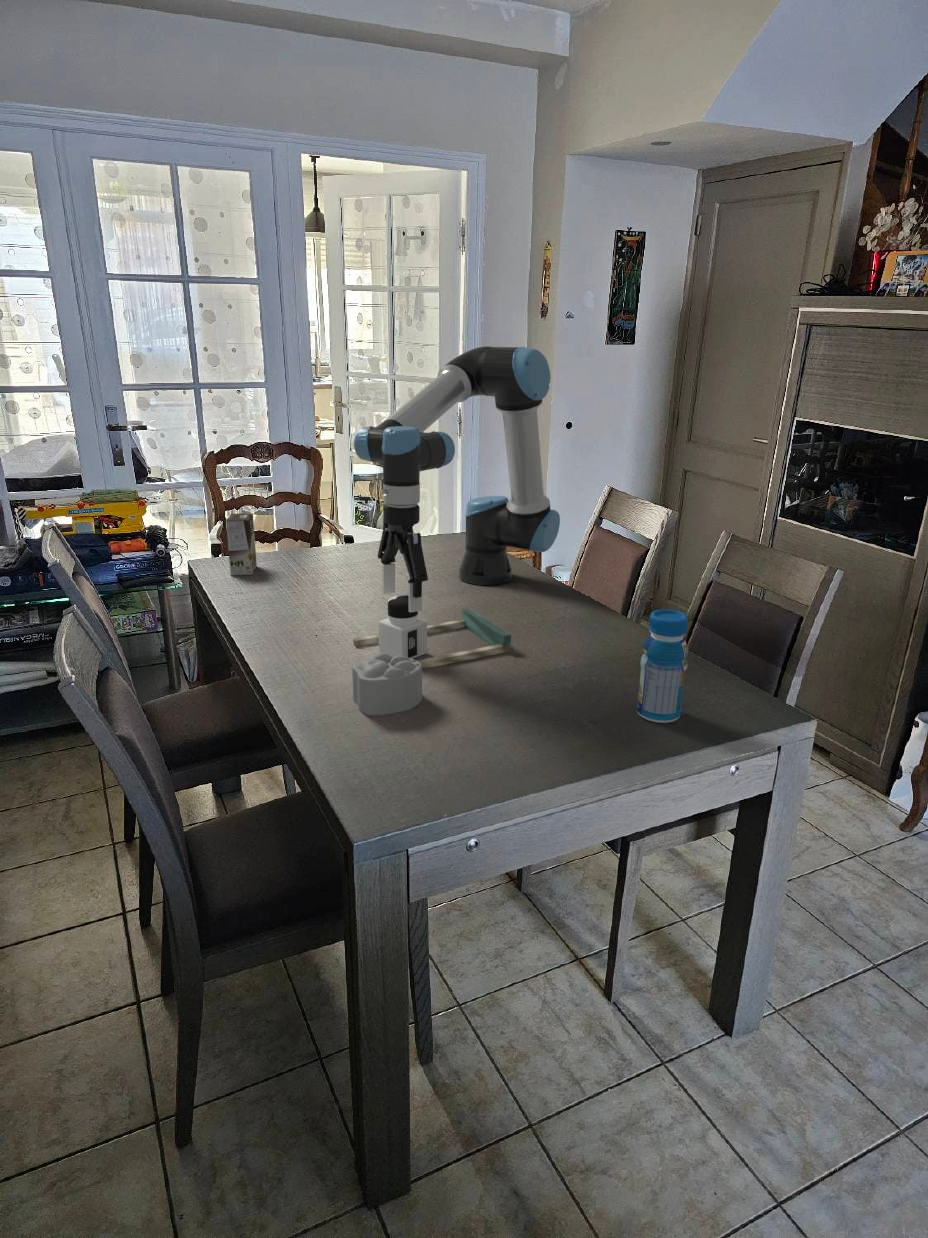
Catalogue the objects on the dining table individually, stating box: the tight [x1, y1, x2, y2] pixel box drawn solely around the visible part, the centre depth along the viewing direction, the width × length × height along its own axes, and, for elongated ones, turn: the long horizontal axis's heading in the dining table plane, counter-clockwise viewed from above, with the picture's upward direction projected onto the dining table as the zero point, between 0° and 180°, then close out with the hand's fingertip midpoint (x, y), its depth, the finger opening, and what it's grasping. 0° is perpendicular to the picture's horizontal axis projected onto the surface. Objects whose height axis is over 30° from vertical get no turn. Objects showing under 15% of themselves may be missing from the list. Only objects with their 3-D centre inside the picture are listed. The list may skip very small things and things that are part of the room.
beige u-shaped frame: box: [352, 608, 512, 670], centre depth 179 cm, size 30×19×4 cm, turn 119°
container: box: [378, 594, 428, 659], centre depth 174 cm, size 8×8×13 cm
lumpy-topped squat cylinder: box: [351, 652, 423, 716], centre depth 153 cm, size 10×13×9 cm
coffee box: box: [225, 512, 258, 576], centre depth 228 cm, size 9×6×16 cm
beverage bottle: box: [635, 608, 689, 724], centre depth 147 cm, size 8×8×20 cm
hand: (401, 601), depth 171 cm, fingers open, 13 cm apart
